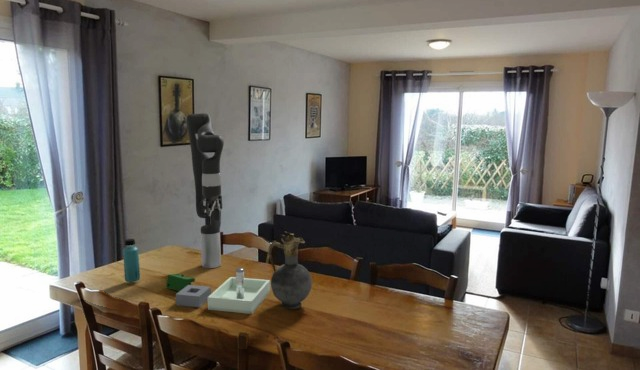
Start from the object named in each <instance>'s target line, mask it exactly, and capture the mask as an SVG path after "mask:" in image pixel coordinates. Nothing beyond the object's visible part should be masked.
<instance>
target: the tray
mask: <svg viewBox="0 0 640 370" xmlns="http://www.w3.org/2000/svg"><path fill="white" fill-rule="evenodd" d="M244 292H245V298H243V299H237V293H236V276H230V277H229V278H228V279H226V280H225V281H224V282H223V283H221V285H220V286H218V287H217V288H216V289H214V290H213V292H211V295H209V296H208V300H207V310H208V311H209V310H210V311H220V312H228V313H229V312H231V313H238V314H239V313H240V314H249V315H253V314H254V312H255V311H256V310H257V309H258V307H259V306H260V305H261V303H263V301H264V300H265V298H266V297H268V295H269V294H270V292H271V279H262V278H261V279H260V278H247V277H244Z"/></svg>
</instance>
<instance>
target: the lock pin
mask: <svg viewBox="0 0 640 370" xmlns="http://www.w3.org/2000/svg"><path fill="white" fill-rule="evenodd" d="M235 277H236V293H237V299H243V298H245V292H244V278H245V268H243V267H238V268H235Z"/></svg>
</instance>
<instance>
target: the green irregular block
mask: <svg viewBox="0 0 640 370" xmlns="http://www.w3.org/2000/svg"><path fill="white" fill-rule="evenodd" d="M195 281H196V277H192V276H187V277H186V276H184V274H180V273H173V274H172V273H171V274H167V278H166V288H167V289H169V290H173V291H177V292H179V291H181V290H182V289H183V288H185V287H186V286H187V285H192V283H195Z"/></svg>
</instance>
